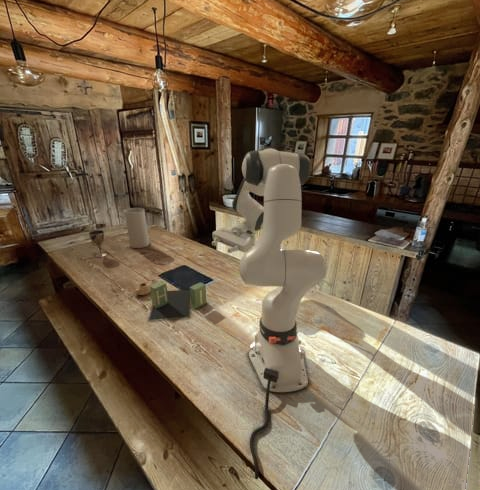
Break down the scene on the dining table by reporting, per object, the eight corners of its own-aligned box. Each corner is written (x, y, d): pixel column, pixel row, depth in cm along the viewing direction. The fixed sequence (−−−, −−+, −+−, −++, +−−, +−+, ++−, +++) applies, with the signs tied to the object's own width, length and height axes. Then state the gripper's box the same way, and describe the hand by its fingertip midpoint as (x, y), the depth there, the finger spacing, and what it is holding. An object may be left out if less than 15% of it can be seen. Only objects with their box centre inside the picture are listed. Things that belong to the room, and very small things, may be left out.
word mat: (188, 318, 111) (188, 316, 111) (149, 321, 109) (149, 319, 109) (191, 290, 131) (191, 289, 130) (157, 292, 129) (157, 291, 129)
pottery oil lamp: (163, 287, 133) (161, 279, 127) (144, 304, 126) (141, 296, 121) (150, 277, 135) (148, 269, 130) (131, 293, 129) (128, 286, 123)
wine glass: (110, 254, 171) (106, 231, 165) (99, 258, 165) (93, 235, 159) (103, 251, 175) (98, 229, 169) (91, 255, 169) (86, 233, 163)
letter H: (168, 303, 120) (166, 283, 116) (157, 308, 116) (154, 288, 112) (164, 299, 122) (161, 280, 118) (152, 305, 118) (149, 285, 114)
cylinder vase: (145, 248, 179) (140, 212, 169) (127, 248, 180) (120, 212, 169) (151, 242, 191) (146, 207, 181) (134, 242, 191) (128, 207, 181)
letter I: (206, 304, 120) (205, 284, 116) (196, 309, 116) (195, 290, 112) (201, 300, 123) (200, 282, 118) (191, 306, 118) (189, 287, 114)
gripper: (223, 222, 129) (203, 234, 121) (257, 234, 119) (238, 249, 110) (224, 233, 133) (204, 245, 125) (257, 246, 123) (238, 261, 114)
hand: (220, 247), depth 117 cm, fingers open, 8 cm apart
